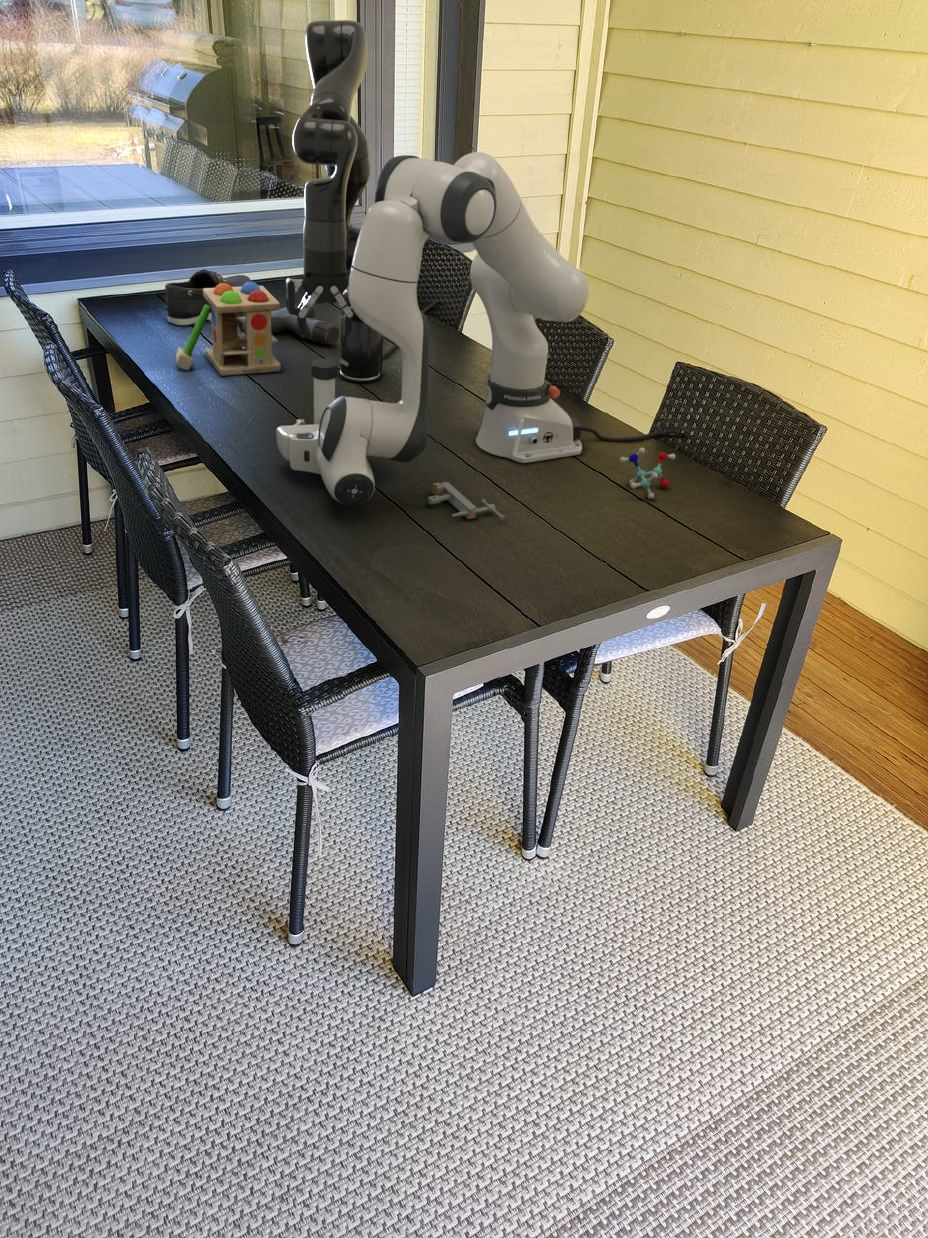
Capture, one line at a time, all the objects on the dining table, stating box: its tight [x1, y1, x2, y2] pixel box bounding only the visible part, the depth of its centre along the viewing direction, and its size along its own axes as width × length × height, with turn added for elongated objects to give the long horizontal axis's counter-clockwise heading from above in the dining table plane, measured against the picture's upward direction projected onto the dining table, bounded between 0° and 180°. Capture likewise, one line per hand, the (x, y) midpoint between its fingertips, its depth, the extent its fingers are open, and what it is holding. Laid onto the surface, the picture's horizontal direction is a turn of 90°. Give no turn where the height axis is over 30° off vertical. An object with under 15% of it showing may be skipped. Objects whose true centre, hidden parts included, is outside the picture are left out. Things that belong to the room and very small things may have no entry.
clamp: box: [427, 481, 506, 521], centre depth 180 cm, size 15×2×10 cm
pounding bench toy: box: [174, 281, 282, 377], centre depth 225 cm, size 23×14×18 cm, turn 116°
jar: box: [313, 377, 336, 424], centre depth 190 cm, size 4×4×18 cm
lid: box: [310, 358, 339, 380], centre depth 186 cm, size 5×5×2 cm
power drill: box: [271, 304, 340, 346], centre depth 252 cm, size 5×19×20 cm
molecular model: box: [619, 447, 676, 500], centre depth 192 cm, size 12×10×10 cm
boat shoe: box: [164, 269, 253, 326], centre depth 260 cm, size 13×33×10 cm, turn 147°
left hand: (324, 335), depth 182 cm, fingers open, 7 cm apart
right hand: (323, 421), depth 192 cm, fingers open, 8 cm apart
